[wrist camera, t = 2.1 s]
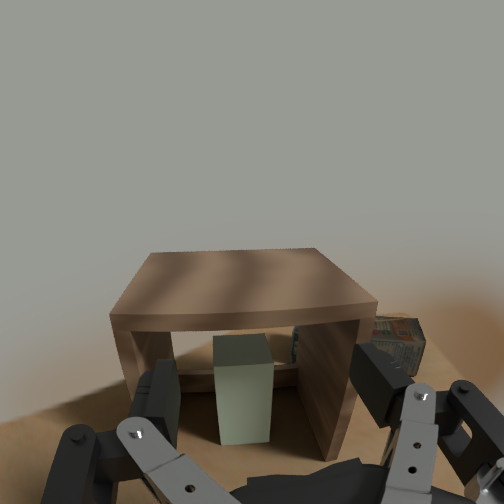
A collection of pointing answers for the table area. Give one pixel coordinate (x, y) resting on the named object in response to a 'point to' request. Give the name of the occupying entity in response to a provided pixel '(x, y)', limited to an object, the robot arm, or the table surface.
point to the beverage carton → (391, 341)
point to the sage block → (243, 387)
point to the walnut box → (252, 321)
